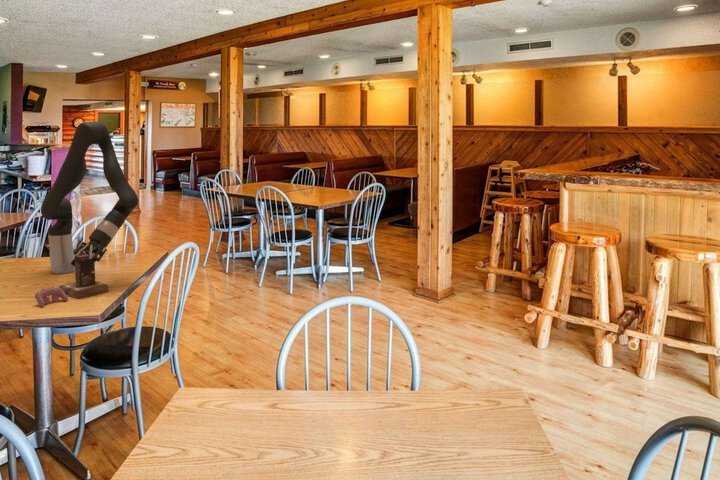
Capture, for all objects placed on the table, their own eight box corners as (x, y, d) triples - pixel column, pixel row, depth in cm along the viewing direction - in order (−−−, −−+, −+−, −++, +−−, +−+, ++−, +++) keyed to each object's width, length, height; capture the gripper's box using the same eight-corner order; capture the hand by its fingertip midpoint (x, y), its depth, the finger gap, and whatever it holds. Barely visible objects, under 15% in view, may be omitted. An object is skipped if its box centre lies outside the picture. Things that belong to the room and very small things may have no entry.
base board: (60, 293, 210) (59, 285, 209) (89, 286, 220) (88, 278, 219) (78, 299, 203) (78, 290, 202) (108, 291, 213) (107, 283, 212)
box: (82, 287, 208) (79, 257, 205) (75, 285, 210) (73, 255, 208) (96, 284, 213) (94, 254, 210) (90, 282, 215) (87, 253, 213)
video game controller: (64, 303, 202) (58, 286, 203) (69, 300, 200) (63, 282, 200) (37, 310, 194) (31, 292, 195) (42, 307, 192) (36, 288, 192)
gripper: (87, 226, 217) (61, 259, 209) (108, 230, 209) (82, 264, 202) (100, 237, 222) (75, 269, 215) (121, 241, 215) (96, 274, 207)
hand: (78, 266), depth 208 cm, fingers open, 8 cm apart
